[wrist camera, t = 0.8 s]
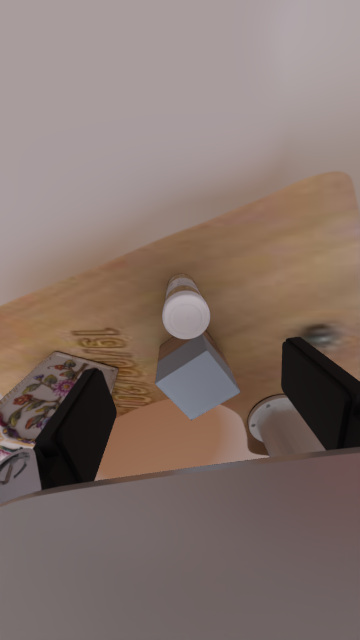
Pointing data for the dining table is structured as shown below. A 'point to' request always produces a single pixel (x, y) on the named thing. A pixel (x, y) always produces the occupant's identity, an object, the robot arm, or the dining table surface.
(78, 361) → the decorative jar
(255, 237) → the dining table surface
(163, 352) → the walnut base block
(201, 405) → the slate top block
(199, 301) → the sprinkles bottle
